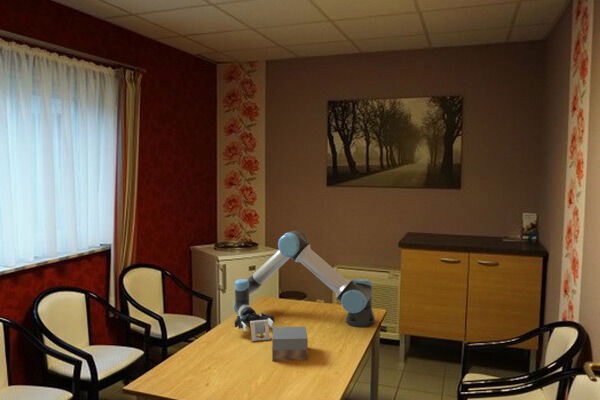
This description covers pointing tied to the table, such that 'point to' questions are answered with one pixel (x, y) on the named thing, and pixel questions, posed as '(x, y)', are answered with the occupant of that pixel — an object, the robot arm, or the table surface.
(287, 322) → the table surface
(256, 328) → the portable electronic device stand
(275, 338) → the tower top block
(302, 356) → the tower bottom block
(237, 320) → the robot arm
